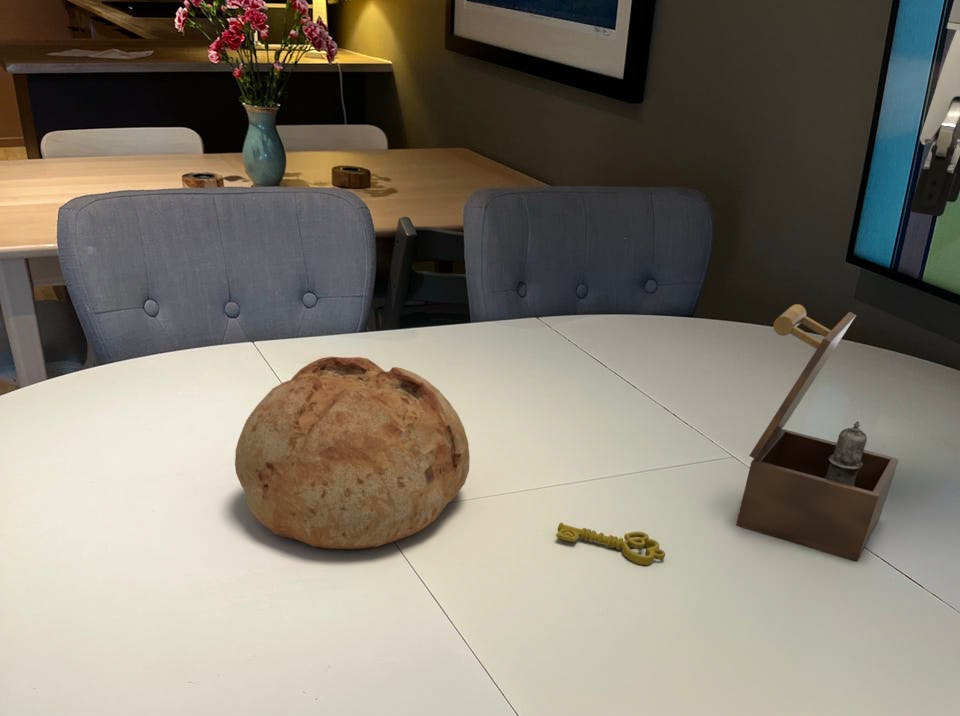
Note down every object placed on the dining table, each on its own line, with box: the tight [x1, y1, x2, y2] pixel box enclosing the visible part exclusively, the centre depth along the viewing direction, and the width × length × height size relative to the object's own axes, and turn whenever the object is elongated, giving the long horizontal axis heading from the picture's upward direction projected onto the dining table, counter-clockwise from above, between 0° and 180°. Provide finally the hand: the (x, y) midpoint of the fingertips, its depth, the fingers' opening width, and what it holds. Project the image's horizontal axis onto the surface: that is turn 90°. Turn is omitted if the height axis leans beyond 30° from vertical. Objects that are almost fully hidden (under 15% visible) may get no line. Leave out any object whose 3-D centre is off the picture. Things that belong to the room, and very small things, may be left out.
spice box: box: [735, 428, 900, 562], centre depth 111 cm, size 14×12×8 cm
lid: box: [749, 303, 857, 459], centre depth 107 cm, size 14×12×6 cm
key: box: [555, 522, 666, 566], centre depth 105 cm, size 12×1×5 cm
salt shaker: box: [825, 421, 868, 487], centre depth 109 cm, size 6×6×12 cm
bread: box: [234, 356, 471, 550], centre depth 106 cm, size 26×23×15 cm
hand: (933, 206), depth 104 cm, fingers open, 9 cm apart
